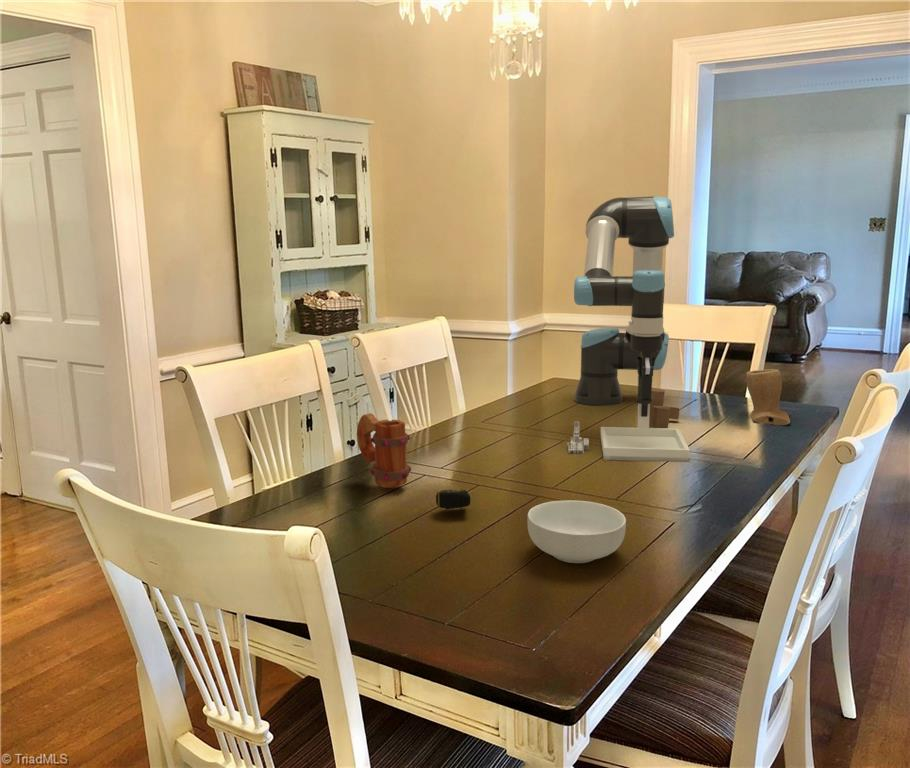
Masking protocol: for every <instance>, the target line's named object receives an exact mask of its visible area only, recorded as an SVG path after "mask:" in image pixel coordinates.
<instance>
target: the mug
mask: <svg viewBox="0 0 910 768" xmlns="http://www.w3.org/2000/svg"><path fill="white" fill-rule="evenodd" d="M372 432H374V433H373V435H372ZM356 438H357V439H356V440H357V443H358V449H359V451H360V453H361V456H362V458H364V460H365V462H366V463H368V464H369V463H373V462H374V464H373V466H372V468H371V469H370V470H369V473H370V474H371V475H372V476H373V478H374V482H375V484H376V485H377V486H379V487H381V488H384V489H395V488H399V487H401V486H403V485H405V484H406V483H407V480H408V477H409V476H410V475H409V474H410V472H411V471H412V467H411V466H409V464H408V463H407V451H408V450H407V444H408V442H409V440H411V436H410V435H409V434H408V433H407V432H406V424H405V421H402V420H400V419H391V420H389V419H381V420H379V419H378V418H377V417H376V416H375V415H374V414H373V413H370V412H369V413H366V414H363V415H361V417H360V419H359V421H358V423H357V427H356Z"/></svg>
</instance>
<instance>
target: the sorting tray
mask: <svg viewBox="0 0 910 768" xmlns="http://www.w3.org/2000/svg"><path fill="white" fill-rule="evenodd" d="M600 444H601V451H602V459H603V460H604V461H630V462H631V461H632V462H637V461H639V462H690V457H691V450H690V447H689V446H688V444H687V441H686V440H685V437H684V436H683V434H682V432H681V430H680V429H679V428H670V427H668V428H651V427H649V429H638V428H637V427H627V426H626V427H624V426H623V427H620V426H619V427H618V426H600Z"/></svg>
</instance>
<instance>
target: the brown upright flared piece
mask: <svg viewBox="0 0 910 768" xmlns="http://www.w3.org/2000/svg"><path fill="white" fill-rule="evenodd" d="M745 379H746V381H745V382H746V383H745V384H746V387H747V391H748V393H749V396H750V399H751V402H752V405H753V408H752V409H753V410H752V411H751V412H750V416H751V419H752V421H753V422H755V423H757V424H760V423H762V424H761V425H770V424H774V425H773V426H780V425H783V426H787V425H789V424H790V423H791V419H790V417H789V414H788V413H787V412H786V411H784V410H781V409H780V399H781V394H782V390H783V382H782V374H781V371H780V370H779V369H773V368H772V369H771V368H770V369H769V368H768V369H757V370H750V371H747V372H746V375H745Z"/></svg>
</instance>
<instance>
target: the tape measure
mask: <svg viewBox="0 0 910 768" xmlns="http://www.w3.org/2000/svg"><path fill="white" fill-rule="evenodd" d="M471 501H472V500H471V496H470V493H468V491H467V490H465V489H442V490H438V491H437V492H436V495H435V503H436V505H437V507H438V508H439V509H444V510H445V511H451V510H454V509H461V510H462V509H463V508H465V507H468V506H470V504H471Z"/></svg>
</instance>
